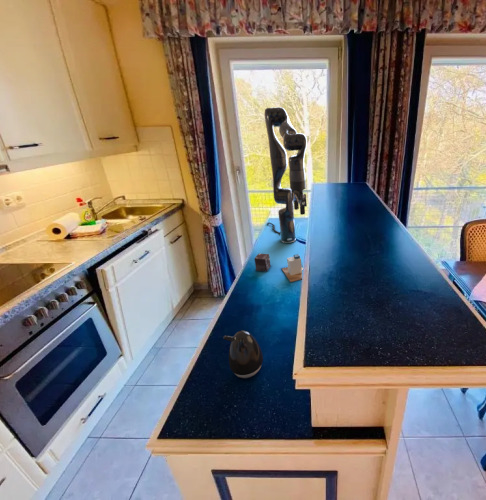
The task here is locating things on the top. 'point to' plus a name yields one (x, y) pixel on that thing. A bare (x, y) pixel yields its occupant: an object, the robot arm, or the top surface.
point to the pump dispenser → (244, 354)
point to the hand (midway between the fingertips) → (299, 211)
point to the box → (262, 262)
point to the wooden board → (293, 277)
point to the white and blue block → (294, 265)
